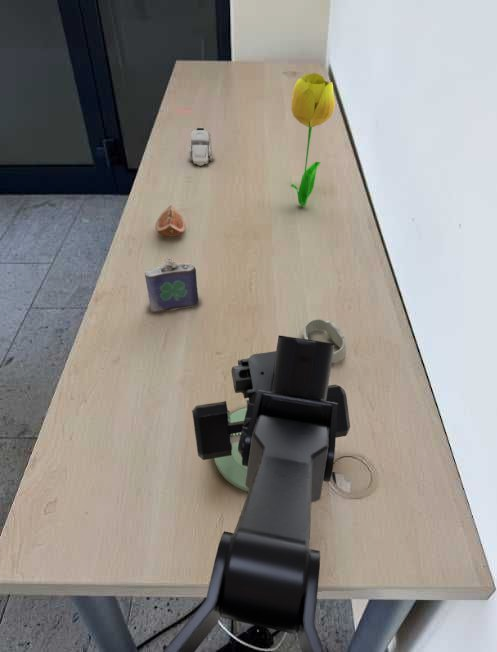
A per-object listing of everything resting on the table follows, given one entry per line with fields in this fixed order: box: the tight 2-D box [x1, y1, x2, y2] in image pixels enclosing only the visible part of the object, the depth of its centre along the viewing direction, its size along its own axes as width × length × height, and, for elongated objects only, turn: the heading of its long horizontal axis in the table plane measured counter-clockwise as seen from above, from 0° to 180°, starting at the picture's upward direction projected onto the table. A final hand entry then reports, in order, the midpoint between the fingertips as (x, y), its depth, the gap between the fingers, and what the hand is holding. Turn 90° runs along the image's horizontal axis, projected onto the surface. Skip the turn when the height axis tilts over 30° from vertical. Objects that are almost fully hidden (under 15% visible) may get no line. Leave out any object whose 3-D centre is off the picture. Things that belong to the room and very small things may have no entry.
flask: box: [144, 257, 199, 314], centre depth 90 cm, size 9×3×11 cm, turn 105°
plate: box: [213, 407, 249, 492], centre depth 71 cm, size 14×14×1 cm
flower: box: [290, 72, 336, 209], centre depth 109 cm, size 9×8×30 cm
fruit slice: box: [155, 205, 187, 237], centre depth 109 cm, size 8×7×5 cm
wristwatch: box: [302, 318, 347, 363], centre depth 84 cm, size 9×6×5 cm
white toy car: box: [188, 127, 213, 167], centre depth 133 cm, size 6×7×10 cm
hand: (260, 410), depth 67 cm, fingers open, 9 cm apart
